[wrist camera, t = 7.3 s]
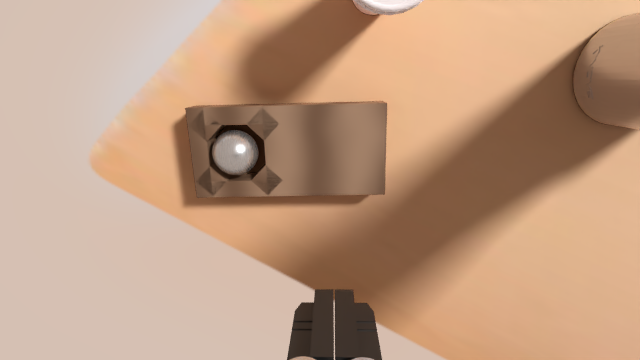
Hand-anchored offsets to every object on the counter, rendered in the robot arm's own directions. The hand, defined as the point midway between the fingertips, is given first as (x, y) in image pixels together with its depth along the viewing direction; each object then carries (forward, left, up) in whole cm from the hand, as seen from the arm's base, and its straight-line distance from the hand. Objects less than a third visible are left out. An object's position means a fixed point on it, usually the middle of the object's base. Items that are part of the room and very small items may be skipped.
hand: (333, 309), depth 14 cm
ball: (+8, -3, -19) cm, 21 cm away
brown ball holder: (+4, -3, -21) cm, 21 cm away
